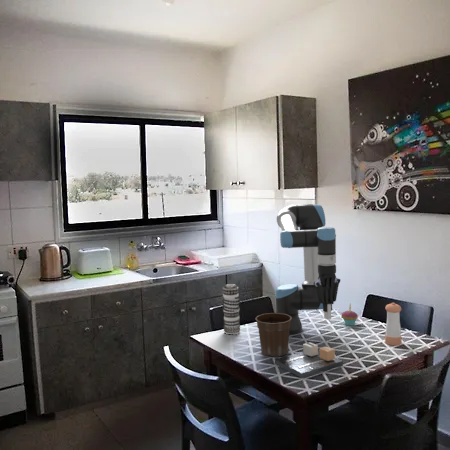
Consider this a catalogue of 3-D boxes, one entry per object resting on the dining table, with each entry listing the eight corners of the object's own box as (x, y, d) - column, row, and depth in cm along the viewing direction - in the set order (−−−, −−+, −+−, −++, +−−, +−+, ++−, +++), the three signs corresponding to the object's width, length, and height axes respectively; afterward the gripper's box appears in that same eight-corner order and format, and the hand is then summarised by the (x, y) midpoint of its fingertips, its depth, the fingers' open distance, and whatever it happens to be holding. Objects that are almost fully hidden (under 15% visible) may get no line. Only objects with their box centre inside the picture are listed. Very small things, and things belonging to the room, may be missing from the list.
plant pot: (249, 350, 224) (248, 316, 222) (278, 343, 232) (277, 310, 230) (269, 361, 210) (268, 325, 208) (299, 353, 217) (298, 318, 216)
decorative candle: (237, 328, 256) (235, 282, 253) (243, 333, 247) (242, 285, 245) (220, 331, 253) (218, 284, 250) (227, 336, 244) (225, 287, 241)
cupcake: (359, 326, 252) (359, 304, 251) (343, 327, 252) (343, 304, 251) (355, 321, 261) (355, 299, 259) (339, 322, 261) (339, 300, 260)
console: (274, 363, 207) (274, 358, 207) (314, 352, 218) (313, 347, 218) (301, 378, 192) (301, 372, 191) (342, 365, 203) (342, 360, 203)
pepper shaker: (382, 343, 227) (382, 303, 225) (389, 339, 232) (389, 299, 230) (397, 346, 222) (397, 305, 220) (404, 342, 227) (404, 302, 225)
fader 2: (319, 357, 206) (319, 347, 205) (326, 355, 208) (326, 345, 207) (327, 361, 202) (327, 351, 201) (335, 358, 204) (334, 349, 203)
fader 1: (303, 352, 212) (303, 343, 211) (310, 350, 214) (310, 341, 213) (310, 356, 207) (310, 346, 207) (317, 354, 209) (317, 344, 209)
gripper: (320, 267, 198) (321, 323, 200) (344, 263, 204) (345, 318, 206) (308, 264, 204) (309, 319, 207) (332, 261, 210) (333, 314, 213)
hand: (327, 318), depth 206 cm, fingers closed
